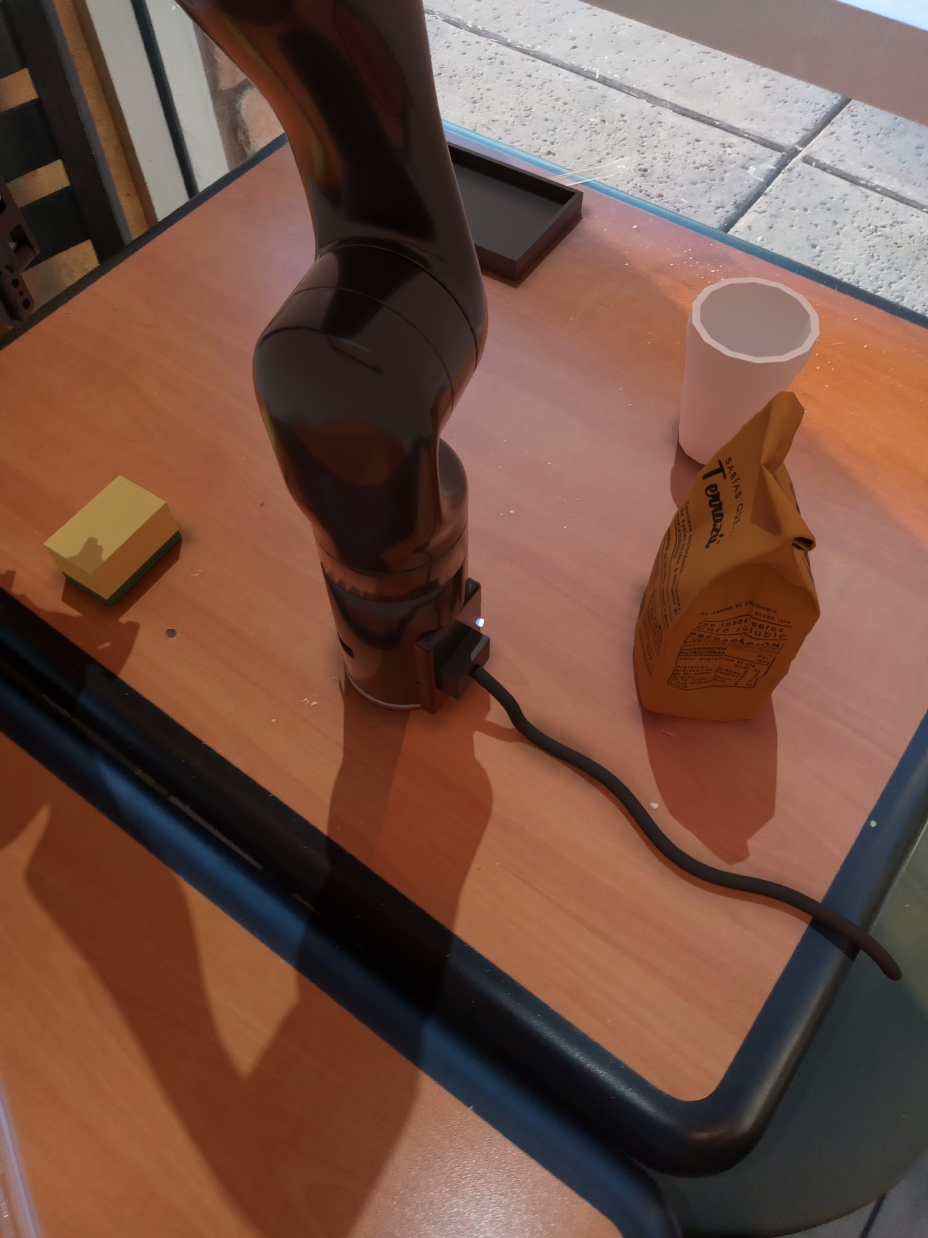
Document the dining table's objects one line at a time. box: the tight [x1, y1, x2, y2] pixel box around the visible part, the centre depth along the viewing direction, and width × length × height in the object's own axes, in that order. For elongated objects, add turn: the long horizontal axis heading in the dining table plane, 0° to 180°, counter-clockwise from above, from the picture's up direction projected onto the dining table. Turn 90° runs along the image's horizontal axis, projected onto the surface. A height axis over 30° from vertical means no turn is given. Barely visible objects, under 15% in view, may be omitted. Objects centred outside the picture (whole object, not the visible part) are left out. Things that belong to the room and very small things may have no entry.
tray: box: [446, 140, 585, 282], centre depth 94 cm, size 17×13×2 cm
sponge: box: [42, 475, 183, 607], centre depth 70 cm, size 8×5×4 cm, turn 147°
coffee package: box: [633, 390, 821, 722], centre depth 58 cm, size 10×12×22 cm
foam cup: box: [678, 276, 821, 466], centre depth 73 cm, size 10×9×13 cm
